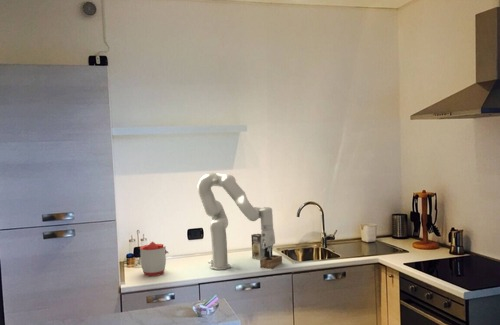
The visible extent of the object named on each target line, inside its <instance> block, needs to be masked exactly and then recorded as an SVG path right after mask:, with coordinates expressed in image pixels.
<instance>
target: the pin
mask: <svg viewBox="0 0 500 325" xmlns="http://www.w3.org/2000/svg"><path fill="white" fill-rule="evenodd" d="M266 248H267V247H266ZM269 253H270V257H269V258H267V257H266V258H267V260H271V246H269Z"/></svg>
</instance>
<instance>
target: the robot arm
mask: <svg viewBox="0 0 500 325" xmlns="http://www.w3.org/2000/svg"><path fill="white" fill-rule="evenodd" d="M236 181H237V180H236V178H235V176H234V175H233V174H225V173H217V172H209V173H205V174H204V175H203V176H202V177H201V178H200V179H199V181H198V182H197V192H198V195H199V197H200V200H201V203H202V207H204V212H205V214H206V215H207V217H210V218H211V220H212V221H211V223H210V226H209V227H210V228H209V229H210V237H211V254H212V257H211V259H209V260H208V264H210V269H211V270H215V271H221V270H227V269H230V268H231V264H230V263H228V262H229V261H228V260H229V259H228V240H227V239H228V238H227V232H226V231H227V230H226V229H227V228H228V226H229V220H228V217H227V214H226V212H225V210H224V207H223V204H222V203H221V202H220V201H219V200H216V198H215V195H214V193H213V190H212V187H213V186H214V187H218V188H219V187H220V188H222V189H223V190H224V191H225V192H226V193H227V194H228V196H229V197H230V198H231V199H232V200H233V202H234V204H235V205H236V206H237V207H238V209H239V210H240V212H241V213H242V214H243V215H244V216H245V217H246V219H247V220H248V221H250V222H256V221H258V219H260V230H261V233H260V234H261V244H262V248H263V249H264V251H265V257H267V258H269V257H270V253H269V246H271V256H273V255H274V254H273V249H274V247H273V246H274V245H275V244H276V235H275V229H274V223H273V222H274V218H273V208H272V207H267V206H266V207H265V206H264V207H257V206H255V207H254V206H253V204H251V203H250V201H249V200H248V197H247V195H246V192H245V191H244V190H243V188H242V187H241V186H240V185H239V184H238V183H237V182H236ZM265 245H266V246H265ZM266 247H267V248H266Z"/></svg>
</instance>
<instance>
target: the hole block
mask: <svg viewBox="0 0 500 325" xmlns="http://www.w3.org/2000/svg"><path fill="white" fill-rule="evenodd" d="M259 262H260V263H259V264H260V266H259V267H260V268H261V269H267V270H268V269H269V270H272V269H275V268H276V267H279V266H280V265H283V256H282V255H279V254H277V255H275V254H273V256H271V260H267V258H266V257H265V258H263V259H261V260H259Z"/></svg>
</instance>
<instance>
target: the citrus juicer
mask: <svg viewBox="0 0 500 325" xmlns="http://www.w3.org/2000/svg"><path fill="white" fill-rule="evenodd" d="M139 251H140V252H139V255H140V264H141V269H142V272H143V274H144V275H145V276H148V277H152V276H153V277H155V276H159V275H163V274H164V273H165V270H166V264H167V257H166V255H167V254H169V251H167V249H166V246H164V244H162V243H156V242H154V241H150V243H149V244H146V245H142V246H140V247H139Z"/></svg>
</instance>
